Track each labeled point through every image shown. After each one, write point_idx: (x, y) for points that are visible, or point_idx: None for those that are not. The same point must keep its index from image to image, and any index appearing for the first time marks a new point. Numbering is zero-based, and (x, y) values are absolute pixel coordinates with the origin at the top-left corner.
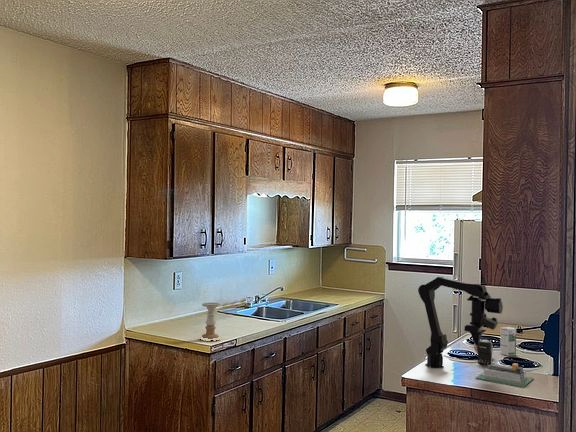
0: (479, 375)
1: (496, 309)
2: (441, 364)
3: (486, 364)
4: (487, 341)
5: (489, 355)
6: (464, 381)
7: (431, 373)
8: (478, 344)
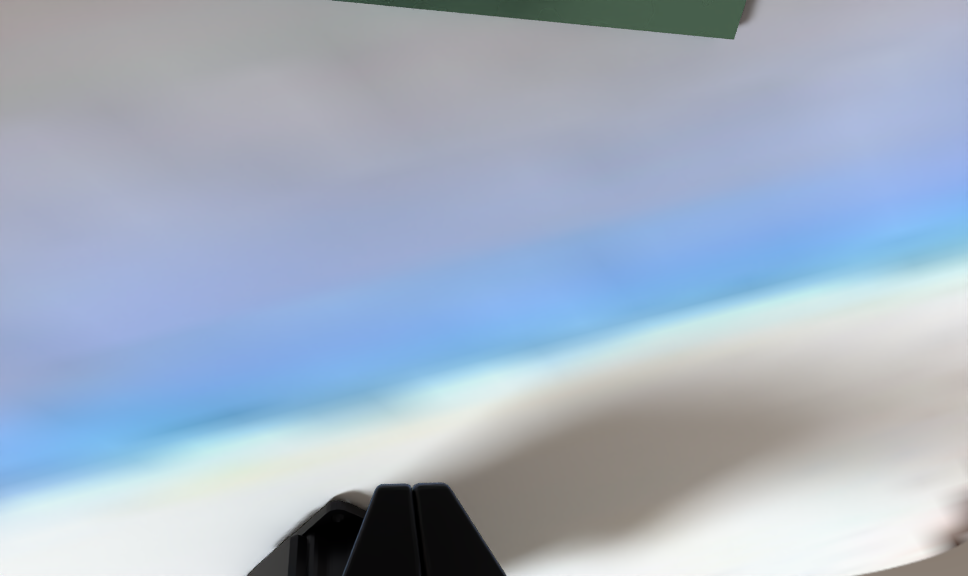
0: (560, 13)
1: None
2: (320, 547)
3: None
4: None
5: None
6: (942, 129)
7: (693, 487)
8: (433, 507)
